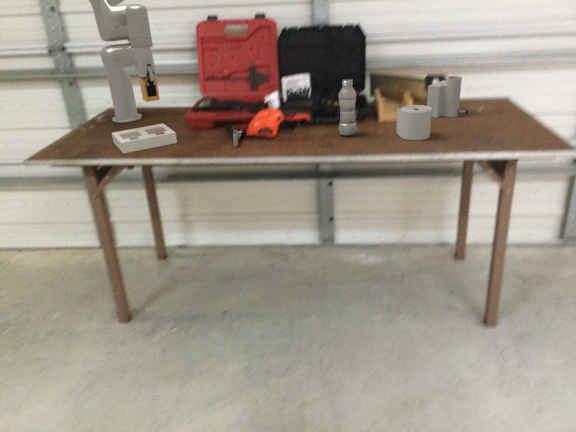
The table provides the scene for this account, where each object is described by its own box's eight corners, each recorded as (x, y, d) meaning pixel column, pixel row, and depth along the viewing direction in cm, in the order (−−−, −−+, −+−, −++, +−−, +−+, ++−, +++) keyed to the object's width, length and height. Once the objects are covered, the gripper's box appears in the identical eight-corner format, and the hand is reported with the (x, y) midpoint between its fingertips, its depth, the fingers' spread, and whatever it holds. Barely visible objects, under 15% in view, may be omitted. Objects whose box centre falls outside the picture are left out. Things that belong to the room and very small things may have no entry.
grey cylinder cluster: (441, 109, 214) (444, 73, 207) (473, 114, 205) (477, 76, 198) (426, 116, 206) (428, 78, 200) (458, 121, 197) (462, 81, 190)
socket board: (113, 142, 196) (111, 131, 194) (164, 133, 204) (162, 121, 202) (123, 153, 183) (120, 141, 181) (177, 142, 191) (175, 130, 189)
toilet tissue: (429, 141, 177) (431, 112, 173) (394, 140, 180) (395, 112, 176) (429, 132, 186) (431, 104, 182) (396, 131, 189) (397, 104, 185)
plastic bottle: (358, 132, 190) (359, 78, 182) (353, 138, 185) (353, 82, 176) (342, 131, 193) (342, 77, 184) (336, 136, 187) (335, 81, 179)
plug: (142, 99, 190) (138, 77, 186) (155, 97, 192) (152, 75, 189) (146, 101, 186) (142, 79, 182) (159, 99, 188) (156, 77, 185)
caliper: (237, 148, 182) (235, 131, 180) (234, 148, 183) (232, 131, 180) (246, 131, 201) (245, 115, 198) (243, 131, 201) (242, 116, 198)
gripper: (125, 42, 186) (134, 92, 193) (137, 46, 172) (146, 100, 180) (145, 40, 189) (153, 89, 197) (158, 44, 175) (167, 97, 183)
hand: (150, 94), depth 188 cm, fingers closed on plug, 4 cm apart
